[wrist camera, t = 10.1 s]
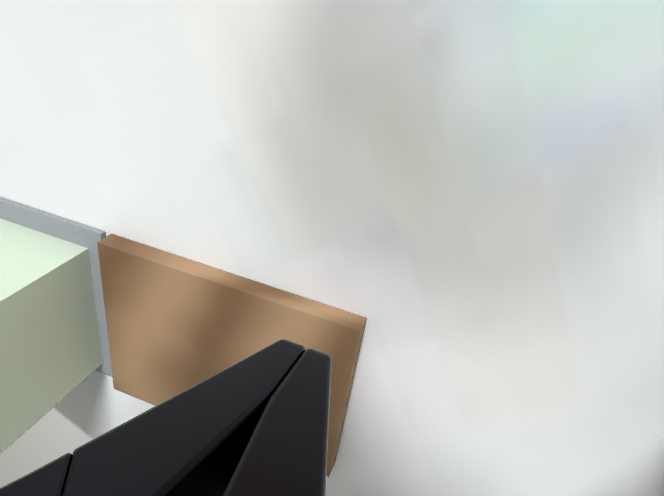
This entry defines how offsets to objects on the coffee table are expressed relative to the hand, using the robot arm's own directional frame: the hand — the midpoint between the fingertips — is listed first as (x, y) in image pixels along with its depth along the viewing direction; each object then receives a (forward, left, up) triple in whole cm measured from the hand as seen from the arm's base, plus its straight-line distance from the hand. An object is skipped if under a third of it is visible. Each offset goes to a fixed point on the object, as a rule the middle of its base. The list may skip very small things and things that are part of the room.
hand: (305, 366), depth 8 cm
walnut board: (+8, +13, -12) cm, 19 cm away
